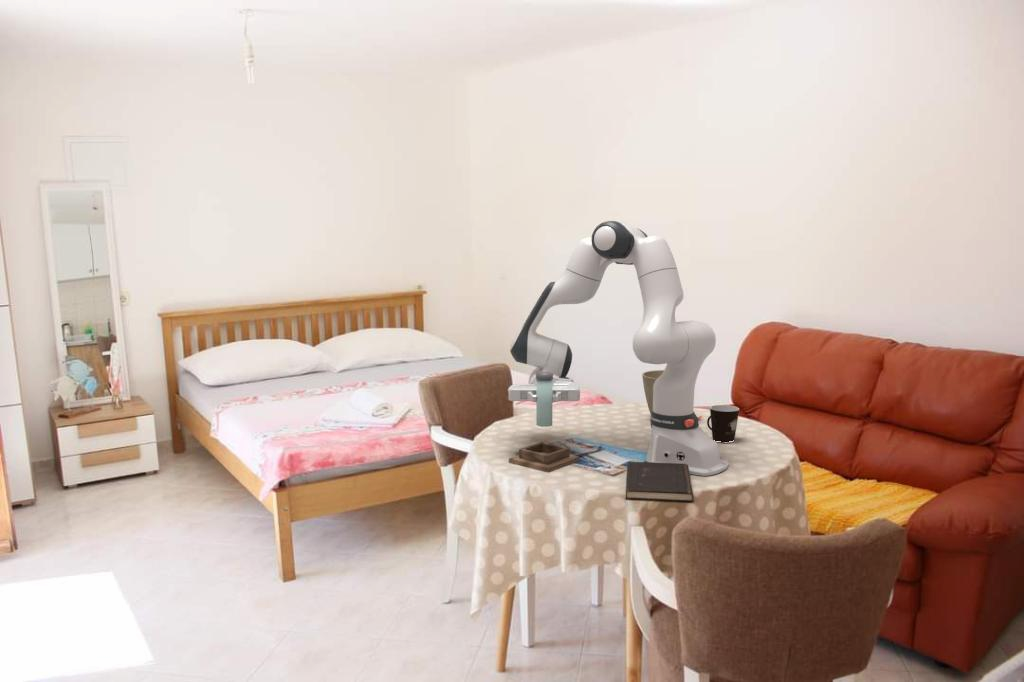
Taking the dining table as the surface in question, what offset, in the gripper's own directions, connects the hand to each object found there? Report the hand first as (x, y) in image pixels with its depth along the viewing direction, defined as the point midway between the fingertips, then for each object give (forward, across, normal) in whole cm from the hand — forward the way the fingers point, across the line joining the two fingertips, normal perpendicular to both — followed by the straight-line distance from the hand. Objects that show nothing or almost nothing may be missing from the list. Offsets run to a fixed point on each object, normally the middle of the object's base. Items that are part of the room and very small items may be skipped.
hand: (544, 398), depth 232 cm
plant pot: (-46, +40, +18) cm, 64 cm away
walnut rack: (-1, 0, +18) cm, 18 cm away
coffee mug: (-23, +53, +18) cm, 61 cm away
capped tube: (-1, 0, +8) cm, 8 cm away
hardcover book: (+20, +28, +18) cm, 39 cm away
